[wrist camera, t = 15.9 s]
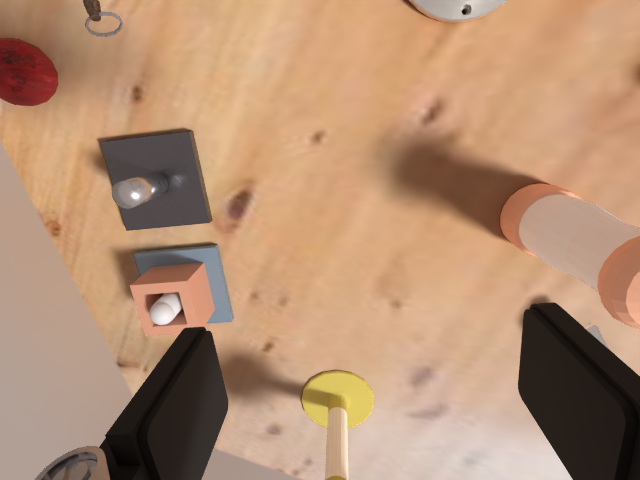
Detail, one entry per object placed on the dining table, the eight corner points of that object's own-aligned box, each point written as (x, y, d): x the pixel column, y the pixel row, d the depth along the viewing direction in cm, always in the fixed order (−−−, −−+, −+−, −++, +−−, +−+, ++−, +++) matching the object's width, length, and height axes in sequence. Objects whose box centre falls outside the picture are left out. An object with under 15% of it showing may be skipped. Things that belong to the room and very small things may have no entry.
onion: (57, 37, 36) (-18, 16, 29) (86, 95, 38) (23, 90, 30) (10, 58, 37) (-74, 44, 30) (41, 114, 39) (-31, 114, 31)
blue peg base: (138, 251, 44) (96, 279, 36) (217, 244, 43) (191, 271, 35) (159, 322, 47) (125, 361, 39) (233, 317, 46) (213, 356, 39)
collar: (152, 266, 43) (129, 285, 38) (204, 262, 42) (187, 280, 38) (166, 313, 45) (145, 336, 40) (215, 309, 45) (200, 333, 40)
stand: (105, 141, 39) (58, 147, 33) (192, 131, 38) (162, 134, 32) (131, 228, 43) (92, 249, 36) (212, 220, 42) (188, 240, 35)
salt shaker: (546, 255, 41) (709, 367, 23) (487, 235, 40) (606, 333, 22) (582, 195, 38) (795, 268, 20) (520, 173, 38) (681, 228, 20)
